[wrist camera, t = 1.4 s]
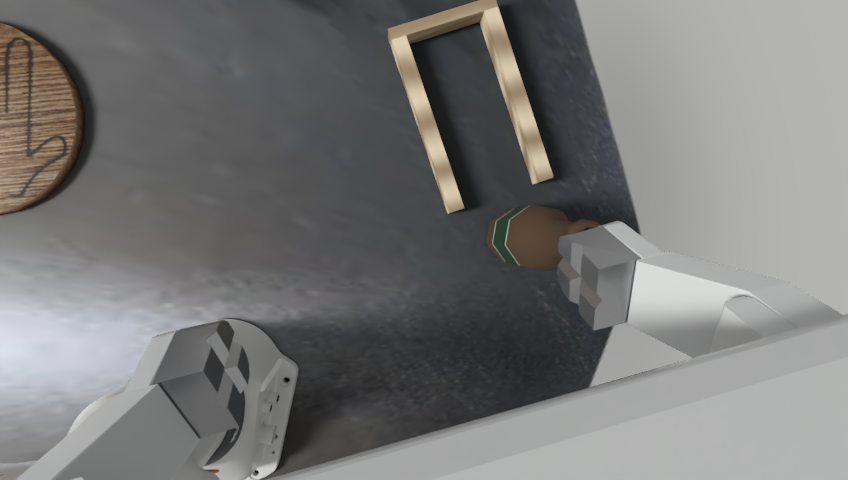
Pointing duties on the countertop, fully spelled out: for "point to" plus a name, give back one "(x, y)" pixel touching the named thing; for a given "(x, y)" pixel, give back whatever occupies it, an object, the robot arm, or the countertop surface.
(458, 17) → the u rest
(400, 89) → the countertop surface
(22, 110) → the trivet
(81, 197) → the countertop surface
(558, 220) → the beer bottle
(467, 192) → the countertop surface
